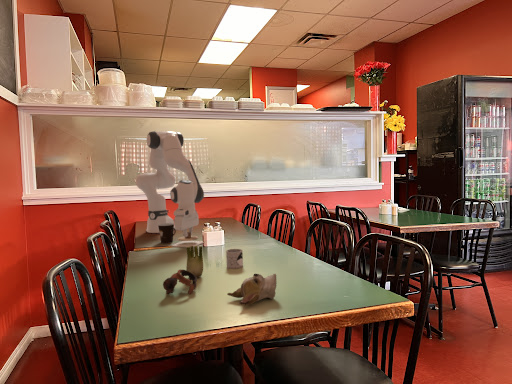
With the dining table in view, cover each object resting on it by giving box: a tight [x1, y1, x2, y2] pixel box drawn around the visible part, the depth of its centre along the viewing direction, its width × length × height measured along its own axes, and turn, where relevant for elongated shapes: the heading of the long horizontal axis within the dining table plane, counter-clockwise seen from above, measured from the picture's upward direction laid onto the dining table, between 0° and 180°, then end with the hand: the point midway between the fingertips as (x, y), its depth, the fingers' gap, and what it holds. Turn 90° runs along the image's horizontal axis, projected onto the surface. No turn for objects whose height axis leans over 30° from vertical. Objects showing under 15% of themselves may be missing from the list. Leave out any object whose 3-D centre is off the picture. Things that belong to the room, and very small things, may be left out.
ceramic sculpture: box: [227, 273, 278, 306], centre depth 111 cm, size 11×9×15 cm
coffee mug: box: [158, 223, 177, 244], centre depth 205 cm, size 12×9×10 cm
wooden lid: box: [177, 231, 199, 242], centre depth 197 cm, size 10×10×3 cm
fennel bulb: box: [185, 245, 204, 279], centre depth 137 cm, size 6×5×12 cm
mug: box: [225, 248, 244, 270], centre depth 152 cm, size 10×7×7 cm, turn 168°
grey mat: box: [171, 240, 205, 249], centre depth 198 cm, size 13×13×1 cm
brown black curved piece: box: [162, 269, 198, 295], centre depth 121 cm, size 12×10×8 cm
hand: (188, 236), depth 197 cm, fingers closed on wooden lid, 3 cm apart
